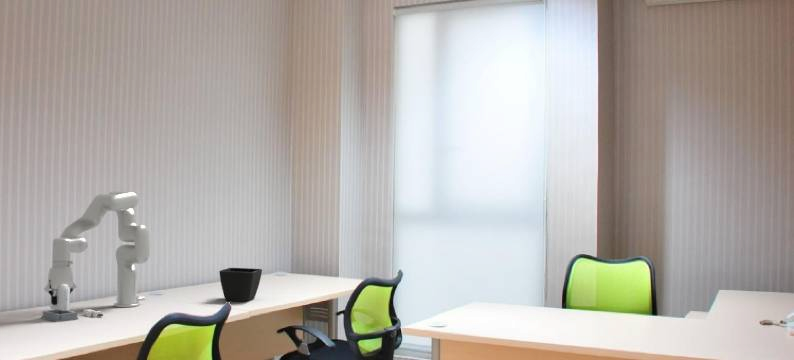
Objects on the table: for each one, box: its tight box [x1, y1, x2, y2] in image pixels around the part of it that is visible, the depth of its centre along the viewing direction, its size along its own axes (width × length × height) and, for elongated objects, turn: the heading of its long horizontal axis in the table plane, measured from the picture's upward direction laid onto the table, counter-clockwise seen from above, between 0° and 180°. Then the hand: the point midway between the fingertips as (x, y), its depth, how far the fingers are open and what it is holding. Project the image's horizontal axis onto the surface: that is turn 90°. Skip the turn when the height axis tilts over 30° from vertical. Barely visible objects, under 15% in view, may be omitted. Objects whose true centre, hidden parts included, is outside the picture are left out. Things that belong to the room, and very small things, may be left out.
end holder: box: [41, 309, 79, 323], centre depth 335 cm, size 10×15×3 cm, turn 51°
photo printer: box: [49, 284, 71, 311], centre depth 336 cm, size 10×4×12 cm, turn 60°
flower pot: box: [219, 267, 263, 303], centre depth 401 cm, size 19×19×17 cm
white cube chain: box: [83, 308, 104, 318], centre depth 344 cm, size 4×13×2 cm, turn 51°
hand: (60, 303), depth 336 cm, fingers closed on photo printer, 4 cm apart
